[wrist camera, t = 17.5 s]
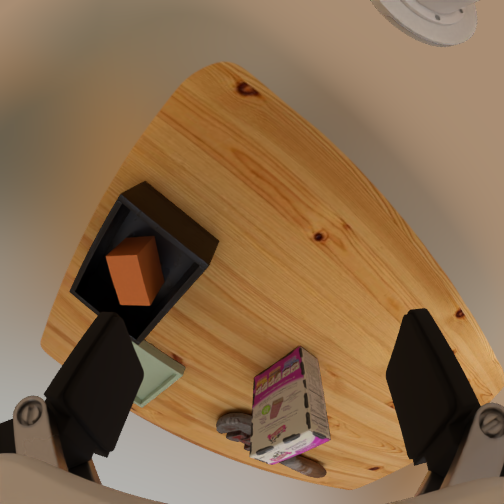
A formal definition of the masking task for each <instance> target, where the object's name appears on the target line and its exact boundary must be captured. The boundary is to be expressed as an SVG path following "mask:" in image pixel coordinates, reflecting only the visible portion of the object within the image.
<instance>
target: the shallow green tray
mask: <svg viewBox="0 0 504 504" xmlns="http://www.w3.org/2000/svg"><path fill="white" fill-rule="evenodd" d="M132 344H133V346H134V349H135V351H136V353H137V356H138V358H139V361H140V363H141V365H142V368H143V370H144V378H143V381H142V383H141V386H140V388H139V390H138V393H137V395H136V397H135V400H134V402H133V403H135V404H137V405H138V406H140V407H143V406H145V405H146V404H147V403H149V402H150V401H151V400H152V399H154V398H155V397H156V396H158V395H159V394H160V393H161V392H163V391H164V390H165V389H166V388H168V387H169V386H170V385H171V384H173V383H174V382H175V381H176V380H178V379H179V378H180V377H181V376H183V373H184V370H185V367H184V366H183V365H181V364H180V363H178V362H176V361H175V360H173V359H172V358H170V357H169V356H167V355H166V354H164V353H163V352H161V351H160V350H158V349H157V348H155V347H154V346H152V345H151V344H150V343H148V342H147V341H145V340H143V341H142V342H141V343H140V344H139V345H137V344H135V343H134V342H132Z"/></svg>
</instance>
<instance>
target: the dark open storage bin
mask: <svg viewBox="0 0 504 504" xmlns="http://www.w3.org/2000/svg"><path fill="white" fill-rule="evenodd" d="M145 236H155V240H156V245H157V250H158V255H159V260H160V264H161V269H162V273H163V277H164V284H163V285H162V287H161V289H160V290H159V292H158V294H157V295H156V297H155V299H154V300H153V302H152V304H151V305H150V306H142V305H120V302H119V299H118V296H117V293H116V290H115V287H114V284H113V280H112V277H111V274H110V270H109V267H108V263H107V260H106V256H107V255H108V254H109V253H110V252H111V251H112V250H113V249H114V248H115V247H116V246H117V245H118V244H120V243H121V242H122V241H123V240H124V239H125V238H130V237H145ZM218 243H219V240H217V239H216V238H215V237H214V236H212V235H211V234H210V233H209V232H207V231H206V230H205V229H204V228H202V227H201V226H200V225H199V224H197V223H196V222H195V221H194V220H192V219H191V218H190V217H189V216H188V215H186V214H185V213H184V212H183V211H181V210H180V209H179V208H178V207H176V206H175V205H174V204H173V203H172V202H170V201H169V200H168V199H167V198H165V197H164V196H163V195H162V194H160V193H159V192H158V191H157V190H156V189H154V188H153V187H152V186H151V185H149V184H148V183H147V182H146V181H144V182H142V183H140V184H138V185H136V186H134V187H133V188H131V189H129V190H127V191H125V192H123V193H121V194H120V196H119V197H118V199H117V201H116V202H115V204H114V206H113V207H112V209H111V211H110V213H109V214H108V216H107V218H106V220H105V221H104V223H103V225H102V227H101V229H100V230H99V232H98V234H97V236H96V238H95V240H94V242H93V244H92V246H91V247H90V249H89V251H88V253H87V255H86V257H85V259H84V261H83V263H82V266H81V268H80V270H79V272H78V274H77V276H76V278H75V280H74V283H73V285H72V287H71V289H70V293H72V294H73V295H74V296H75V297H76V298H77V299H79V300H80V301H81V302H82V303H83V304H84V305H86V306H87V307H88V308H89V309H91V310H92V311H93V312H94V313H95V314H97V315H99V314H100V313H101V312H113V313H117V314H118V315H119V317H121V318H122V319H123V320H124V323H125V326H126V328H127V331H128V334H129V336H130V339H131V341H132V342H134V343H135V344H137V345H139V344H140V343H141V342H142V341H143V340H144V339H145V338H146V336H147V335H148V334H149V333H150V332H151V331H152V330H153V328H154V327H155V326H156V325H157V324H158V323H159V322H160V320H161V319H162V318H163V317H164V316H165V315H166V314H167V312H168V311H169V310H170V309H171V308H172V307H173V306H174V305H175V303H176V302H177V301H178V300H179V299H180V298H181V297H182V296H183V294H184V293H185V292H186V291H187V290H188V289H189V288H190V287H191V285H192V284H193V283H194V282H195V281H196V280H197V279H198V278H199V276H200V275H201V274H202V273H203V272H204V271H205V270H206V269H207V268H208V266H209V265H210V262H211V260H212V258H213V255H214V253H215V250H216V248H217V246H218Z"/></svg>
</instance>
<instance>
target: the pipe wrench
mask: <svg viewBox="0 0 504 504" xmlns="http://www.w3.org/2000/svg"><path fill="white" fill-rule="evenodd" d="M251 423H252V416H250V415H248V414H243V413H231V414H226V415H224V416H222V417H221V418H219V420H218V421H217V424H216V427H217V431H218V432H219V433H221V434H222V433H227V435H226V438H227V439H229V440H232V441H236V442H239V441H240V442H242V443H244V444H245V445H244V449H245V450H247V451H250V440H251ZM279 463H281V464H283V465H285V466H287V467H289V468H291V469H293V470H295V471H298V472H300V473H302V474H304V475H307V476H310V477H314V478H320V477H324V476H325V475H326V470H325V469H324V468H323V466H321V465H319V464H318V463H316V462H314V461H311V460H309V459H306V458H304V457H301V456H298V455H296V456H294V457H291V458H289V459H286V460H284V461H281V462H279Z"/></svg>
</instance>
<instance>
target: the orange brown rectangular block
mask: <svg viewBox="0 0 504 504" xmlns="http://www.w3.org/2000/svg"><path fill="white" fill-rule="evenodd" d="M106 260H107V263H108V267H109V270H110V274H111V277H112V280H113V284H114V287H115V290H116V293H117V296H118V299H119V302H120V305H142V306H150V305H151V304H152V302H153V300H154V299H155V297H156V295H157V294H158V292H159V290H160V289H161V287H162V285H163V284H164V277H163V273H162V269H161V264H160V260H159V255H158V250H157V245H156V240H155V236H145V237H130V238H125V239H124V240H123V241H122V242H121V243H120V244H118V245H117V246H116V247H115V248H114V249H113V250H112V251H111V252H110V253H109V254H108V255H107V256H106Z"/></svg>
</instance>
